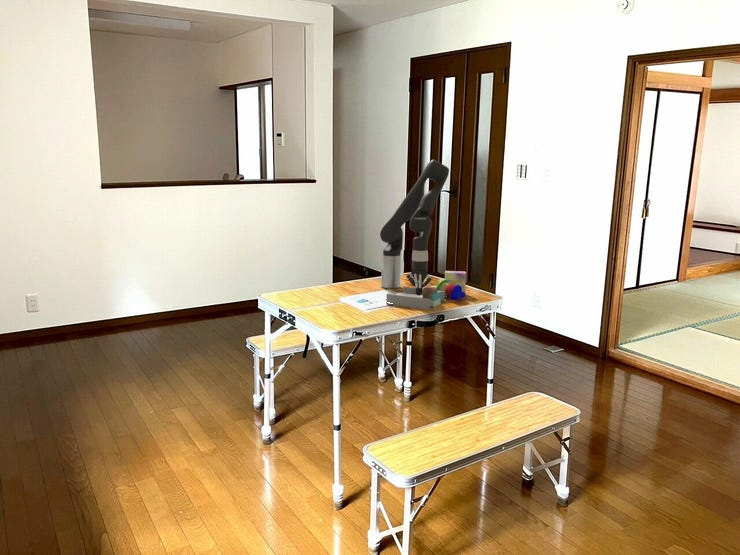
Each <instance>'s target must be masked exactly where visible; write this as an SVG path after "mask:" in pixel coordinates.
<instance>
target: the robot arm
mask: <svg viewBox="0 0 740 555" xmlns="http://www.w3.org/2000/svg"><path fill="white" fill-rule="evenodd" d="M449 173H450V168H449V167H447V166H446V165H445V164H442V163H441V162H439V161H438V160H436V159H431V160H430V161H429V162H428V163H427V165H426V166H425V167H424V169H423V171H422V172H421V174H420V176H419V178H418V179H417V181H416V182H415V184H414V185H413V186H412V188H411V189H410V191H409V192H408V193H407V195H406V196H405V197H404V198H403V200H402V201H401V203H400V205H399V206H398V208H397V210H395V212H394V213H393V215H392V216H391V217H390V219H388V221H387V222H386V223H385V224H384V225H383V227H382V228H381V230H380V233H379V235H380V239H381V241H382V242H383V243H386V244H387V245H386V247H385V248H384V249H383V250H382V268H381V279H380V280H381V281H380V282H381V283H380V286H381V288H385V289H398V288H401V253H402V249H403V242H404V232H403V228H402V226H403V225H404V224H405V223H407V222H408V221H409V223H408V225H409V226H408V227H409V229H410V231H412V232H414V233H422V234H421V235H420V236H415V237H414V238H413V239H412V253H411V271H410V273H409V274H407V275H406V278H407V279H408V281H409V282H410V284H411V286H413V287H414V288H416V294H417V295H418V296H420V295H421V294H422V289H423V288H425V287H428V285H429V283H430V282H431V281H432V280H433V277H432V276H430V275H429V272H428V268H429V262H428V261H429V254H428V253H429V251H428V250H429V246H428V245H429V238H430V234H431V231H432V227H433V221H432V219H431V218H430V217H431V216H432V214H433V213H434V212H433V211H434V209H435V205H436V202H437V200H438V198H439V195H440V194H441V192H442V190H443V188H444V185H445V184H446V182H447V179H448V176H449ZM428 179H429V180H431V181H433V182H434V183H436V185H435V186H434V187H433V188H432V189H431V190H428V191H427V192H425V185H426V181H427V180H428Z"/></svg>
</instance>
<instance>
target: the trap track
mask: <svg viewBox="0 0 740 555" xmlns="http://www.w3.org/2000/svg"><path fill="white" fill-rule="evenodd" d="M445 300H446V299H445V292H444V291H437V292H436V293H434V294H432V298H431V300H430V299H427V298H423V289H422V294H421V295H420V296H418V295H417V294H416V287H410V286H403V287H402V292H397V293H390V292H388V293H386V303H387V302H390V303H393V304H395V305H394V306H396V305H399V306H398V307H405V308H411V309H420V310H426V311H430V310H432V309H434V308H436V307H438V306H439V305H441V304H443V303H445V302H446V301H445Z"/></svg>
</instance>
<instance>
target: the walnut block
mask: <svg viewBox="0 0 740 555" xmlns="http://www.w3.org/2000/svg"><path fill="white" fill-rule="evenodd" d="M436 292H437V288H436V287H432V286H425V287H423V298H427V299H430V300H431V298H432V294H434V293H436Z"/></svg>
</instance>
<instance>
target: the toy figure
mask: <svg viewBox="0 0 740 555" xmlns="http://www.w3.org/2000/svg"><path fill="white" fill-rule="evenodd" d="M435 288H437V291H444V292H445V300H448V299H450V300H451V301H452V302H455V301H457V300H460V299H462V300H463V299H464V298H465V297H466V291H465V292H463V291H462V287H461V286H460V285H454V284H453V285H449V284H448V281H447V280H445V279H444V280H441V281H440V282H439V283H438V284H437V285H436V287H435Z"/></svg>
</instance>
